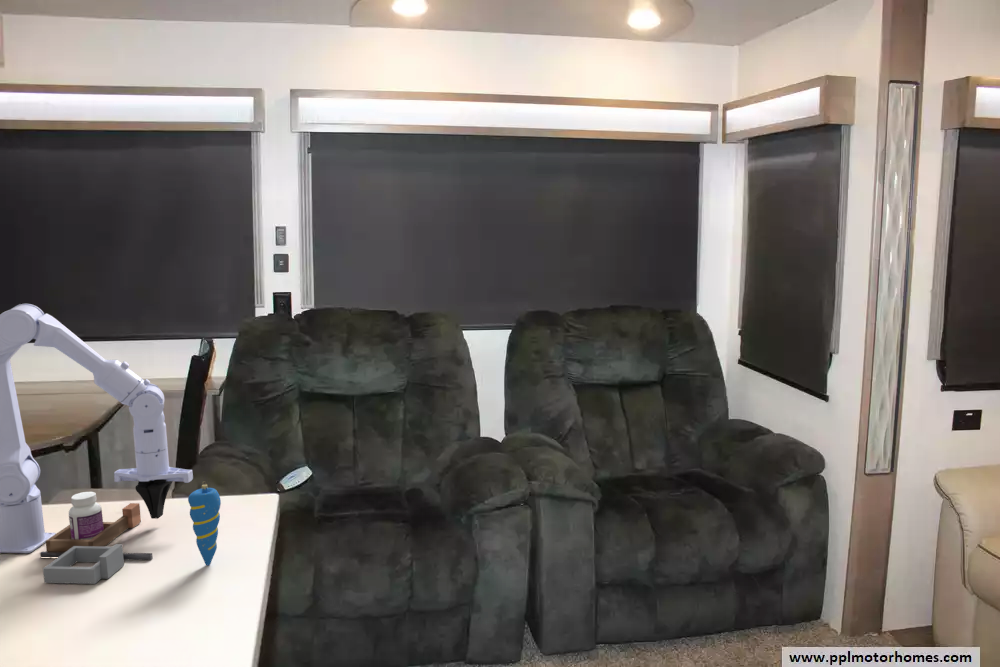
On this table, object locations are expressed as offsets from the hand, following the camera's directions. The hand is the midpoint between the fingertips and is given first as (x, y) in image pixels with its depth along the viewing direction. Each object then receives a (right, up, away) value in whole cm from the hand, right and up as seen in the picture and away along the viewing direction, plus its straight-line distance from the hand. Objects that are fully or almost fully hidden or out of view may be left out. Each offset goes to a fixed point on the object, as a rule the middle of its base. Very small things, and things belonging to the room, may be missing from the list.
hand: (157, 516), depth 151 cm
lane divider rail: (-5, -4, -14) cm, 15 cm away
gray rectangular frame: (-4, -5, -19) cm, 20 cm away
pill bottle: (-9, -4, -8) cm, 13 cm away
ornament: (+16, -5, -16) cm, 23 cm away
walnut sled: (-9, -3, -5) cm, 11 cm away
